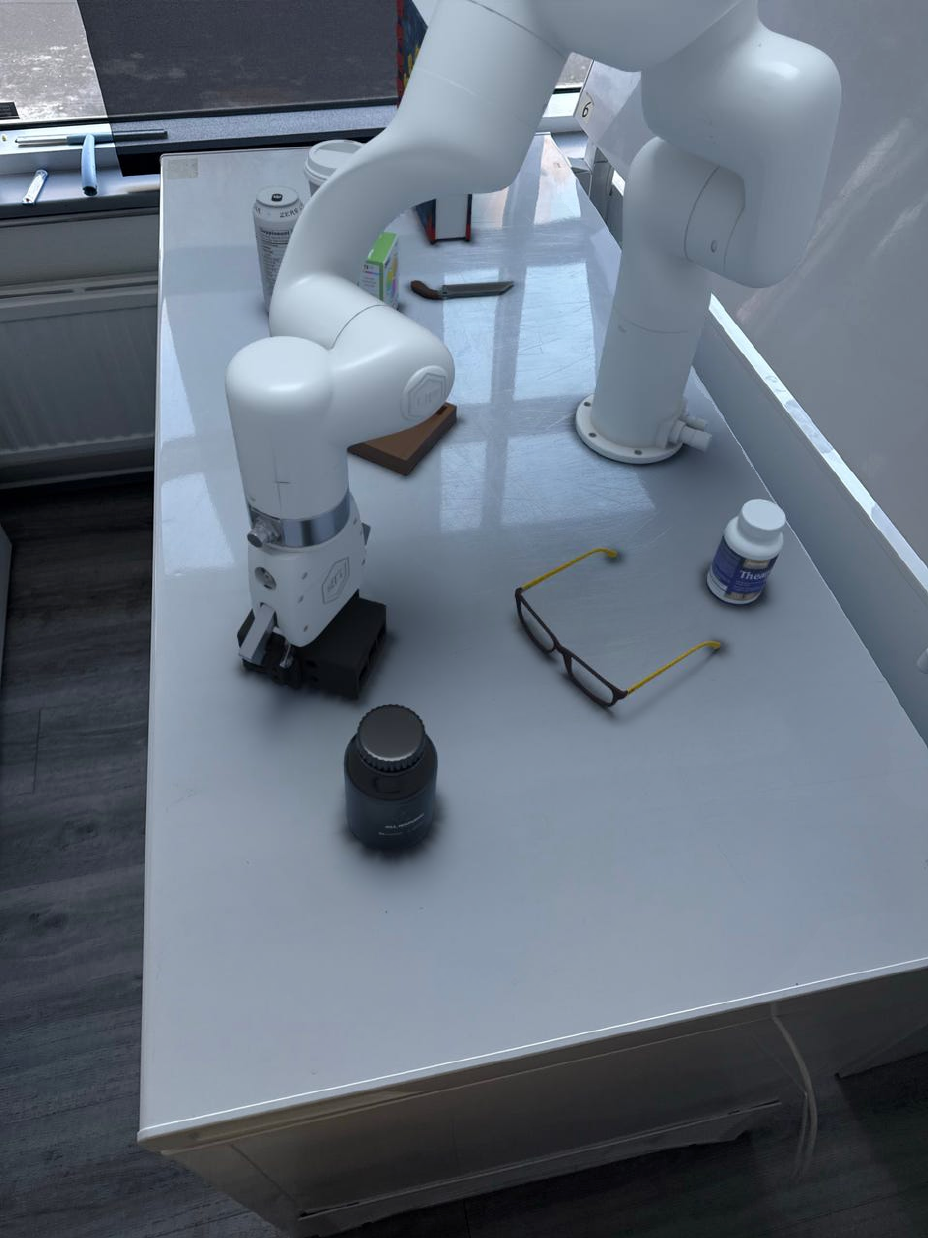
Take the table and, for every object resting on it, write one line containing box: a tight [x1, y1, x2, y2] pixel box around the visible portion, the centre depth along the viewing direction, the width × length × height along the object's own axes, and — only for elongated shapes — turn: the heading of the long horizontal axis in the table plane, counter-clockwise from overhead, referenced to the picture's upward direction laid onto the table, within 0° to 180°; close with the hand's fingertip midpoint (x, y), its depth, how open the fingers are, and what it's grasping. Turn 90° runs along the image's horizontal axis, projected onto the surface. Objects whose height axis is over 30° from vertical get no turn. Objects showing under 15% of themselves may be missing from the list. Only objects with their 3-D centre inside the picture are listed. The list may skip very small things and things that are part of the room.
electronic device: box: [236, 595, 388, 700], centre depth 78 cm, size 7×11×5 cm
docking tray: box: [347, 401, 458, 476], centre depth 100 cm, size 15×11×2 cm
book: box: [395, 0, 474, 245], centre depth 125 cm, size 25×7×25 cm, turn 14°
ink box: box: [357, 231, 400, 311], centre depth 109 cm, size 7×4×13 cm, turn 168°
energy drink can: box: [252, 184, 305, 314], centre depth 108 cm, size 6×6×15 cm
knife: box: [410, 279, 515, 299], centre depth 119 cm, size 14×4×1 cm, turn 101°
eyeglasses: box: [514, 547, 722, 708], centre depth 82 cm, size 14×14×4 cm
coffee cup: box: [302, 139, 365, 198], centre depth 116 cm, size 10×10×15 cm
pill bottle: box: [706, 498, 787, 605], centre depth 85 cm, size 5×5×10 cm
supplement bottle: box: [343, 703, 439, 852], centre depth 66 cm, size 7×7×12 cm
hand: (315, 645), depth 79 cm, fingers closed on electronic device, 8 cm apart
